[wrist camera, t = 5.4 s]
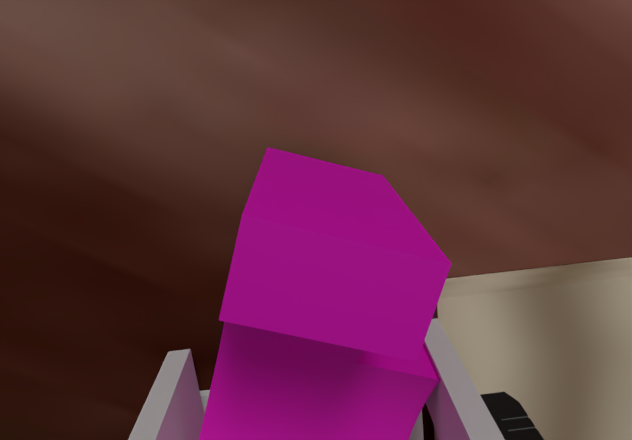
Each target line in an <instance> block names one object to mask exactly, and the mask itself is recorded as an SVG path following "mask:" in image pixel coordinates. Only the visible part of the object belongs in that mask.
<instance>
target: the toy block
mask: <svg viewBox="0 0 632 440" xmlns="http://www.w3.org/2000/svg"><path fill="white" fill-rule="evenodd" d="M450 267H451V262H450V261H449V260H448V258H447V257H446V256H445V255H444V253H443V252H442V251H441V249H440V248H439V247H438V246H437V244H436V243H435V242H434V240H433V239H432V238H431V237H430V235H429V234H428V233H427V231H426V230H425V229H424V228H423V226H422V225H421V224H420V222H419V221H418V220H417V219H416V217H415V216H414V215H413V214H412V212H411V211H410V210H409V208H408V207H407V206H406V205H405V203H404V202H403V201H402V199H401V198H400V197H399V196H398V194H397V193H396V192H395V190H394V189H393V188H392V187H391V185H390V184H389V183H388V181H387V180H386V179H385V178H384V176H383V175H379V174H374V173H370V172H366V171H362V170H358V169H354V168H350V167H346V166H342V165H338V164H334V163H330V162H326V161H322V160H318V159H314V158H310V157H306V156H302V155H297V154H293V153H289V152H285V151H281V150H277V149H273V148H269V147H267V150H266V153H265V155H264V158H263V161H262V163H261V166H260V169H259V171H258V174H257V177H256V179H255V182H254V185H253V187H252V190H251V192H250V195H249V198H248V200H247V203H246V206H245V208H244V211H243V214H242V217H241V222H240V226H239V231H238V235H237V240H236V244H235V249H234V253H233V258H232V262H231V267H230V271H229V276H228V280H227V285H226V289H225V294H224V298H223V303H222V308H221V312H220V317H219V320H220V321H224V326H223V332H222V337H221V342H220V347H219V351H218V356H217V361H216V366H215V370H214V375H213V379H212V384H211V388H210V393H209V397H208V402H207V406H206V410H205V415H204V419H203V423H202V428H201V432H200V436H199V440H409V438H410V435H411V432H412V429H413V427H414V425H415V423H416V420H417V418H418V416H419V414H420V412H421V410H422V408H423V406H424V404H425V402H426V401H427V399H428V398H429V396H430V394H431V393H432V391H433V390H434V389H435V387H436V386H437V385H438V384H439V382H440V379H439V376H438V374H437V372H436V370H435V367H434V365H433V363H432V361H431V359H430V356H429V354H428V352H427V350H426V348H425V345H424V340H425V337H426V334H427V332H428V329H429V326H430V323H431V320H432V318H433V315H434V312H435V309H436V306H437V303H438V301H439V298H440V295H441V292H442V289H443V286H444V284H445V281H446V278H447V275H448V272H449V269H450Z"/></svg>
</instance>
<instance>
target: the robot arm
mask: <svg viewBox="0 0 632 440" xmlns="http://www.w3.org/2000/svg"><path fill="white" fill-rule="evenodd" d="M424 345H425V348H426V350H427V352H428V354H429V356H430V359H431V361H432V363H433V365H434V367H435V370H436V372H437V374H438V376H439V379H440V382H439V384H438V385H437V386H436V387H435V389H434V390H433V391H432V393H431V394H430V396H429V398H428V399H427V401H426V402H425V403H426V405H427V408H428V411H429V413H430V416H431V419H432V421H433V424H434V426H435V429H436V432H437V434H438V437H439V440H544V439H543V437H542V436H541V434H540V433H539V431H538V430H537V428H535V425H534V424H533V422H532V421H531V419H530V418H528V415H527V413H526V412H525V410H524V409H523V407H522V406H521V404H520V402H518V401H517V400H516V399H514V398H513V397H511V396H510V395H509V394H507V393H506V392H497V393H489V394H481V395H480V394H479V392H478V390H477V388H476V387H475V385H474V383H473V381H472V379H471V378H470V376H469V374H468V372H467V370H466V369H465V367H464V365H463V363H462V361H461V360H460V358H459V356H458V354H457V352H456V351H455V349H454V347H453V345H452V343H451V342H450V340H449V338H448V336H447V334H446V333H445V331H444V329H443V327H442V325H441V324H440V322H439V320H438V318H435V319H432V320H431V323H430V326H429V329H428V332H427V334H426V337H425V340H424ZM204 415H205V414H204V409H203V405H202V400H201V396H200V391H199V386H198V382H197V377H196V373H195V368H194V364H193V359H192V354H191V350H190V349H186V350H178V351H170V352H168V354H167V356H166V358H165V360H164V362H163V364H162V367H161V369H160V371H159V373H158V375H157V378H156V380H155V382H154V384H153V386H152V389H151V391H150V393H149V395H148V397H147V399H146V402H145V404H144V406H143V408H142V410H141V413H140V415H139V417H138V419H137V421H136V424H135V426H134V428H133V430H132V432H131V434H130V437H129V439H128V440H198V439H199V436H200V432H201V428H202V423H203V419H204Z"/></svg>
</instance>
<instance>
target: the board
mask: <svg viewBox="0 0 632 440" xmlns="http://www.w3.org/2000/svg"><path fill="white" fill-rule="evenodd" d="M435 318H438V320H439V322H440V324H441V325H442V327H443V329H444V331H445V333H446V334H447V336H448V338H449V340H450V342H451V343H452V345H453V347H454V349H455V351H456V352H457V354H458V356H459V358H460V360H461V361H462V363H463V365H464V367H465V369H466V370H467V372H468V374H469V376H470V378H471V379H472V381H473V383H474V385H475V387H476V388H477V390H478V392H479V394H480V395H481V394H489V393H497V392H506V393H507V394H509V395H510V396H511V397H513V398H514V399H516V400H517V401H518V402H520V404H521V406H522V407H523V409H524V410H525V412H526V413H527V415H528V418H530V419H531V421H532V422H533V424H534V425H535V428H537V430H538V431H539V433H540V434H541V436H542V437H543V439H544V440H632V258H622V259H614V260H605V261H596V262H587V263H579V264H570V265H561V266H553V267H544V268H535V269H527V270H518V271H509V272H501V273H492V274H483V275H475V276H466V277H457V278H448V279H446V281H445V284H444V286H443V289H442V292H441V295H440V298H439V301H438V303H437V306H436V309H435V312H434V315H433V318H432V319H435ZM434 438H435V440H439V437H438V434H437V432H436V429H435V426H434Z"/></svg>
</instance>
